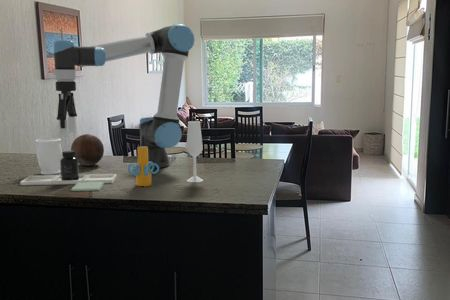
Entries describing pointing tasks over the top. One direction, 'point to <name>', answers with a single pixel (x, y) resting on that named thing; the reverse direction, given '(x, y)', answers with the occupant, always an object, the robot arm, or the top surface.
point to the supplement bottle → (69, 166)
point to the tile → (87, 186)
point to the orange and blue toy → (143, 168)
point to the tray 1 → (38, 180)
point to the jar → (49, 155)
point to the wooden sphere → (88, 149)
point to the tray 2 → (100, 178)
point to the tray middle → (59, 181)
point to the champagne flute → (194, 145)
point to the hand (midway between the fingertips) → (68, 134)
